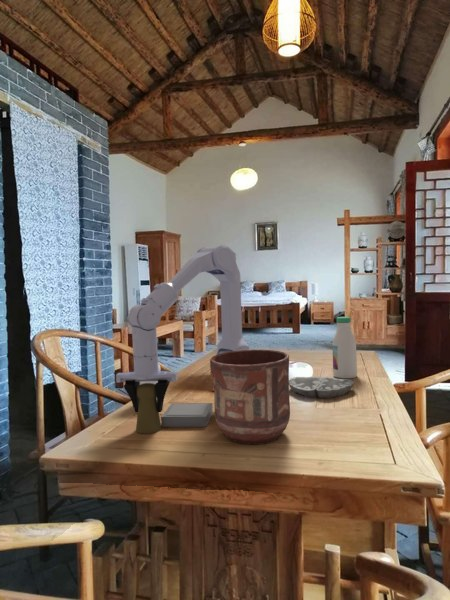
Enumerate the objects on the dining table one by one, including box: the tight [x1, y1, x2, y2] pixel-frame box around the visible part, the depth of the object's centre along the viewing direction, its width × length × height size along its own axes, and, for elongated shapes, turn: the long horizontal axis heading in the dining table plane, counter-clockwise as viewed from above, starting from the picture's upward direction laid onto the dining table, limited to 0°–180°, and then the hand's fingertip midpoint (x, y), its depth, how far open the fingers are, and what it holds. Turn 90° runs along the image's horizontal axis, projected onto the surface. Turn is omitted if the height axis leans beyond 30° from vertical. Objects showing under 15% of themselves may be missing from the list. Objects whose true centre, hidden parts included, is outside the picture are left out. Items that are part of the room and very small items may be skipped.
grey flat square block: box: [160, 402, 214, 428], centre depth 115 cm, size 11×11×3 cm
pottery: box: [209, 349, 291, 445], centre depth 102 cm, size 18×18×18 cm
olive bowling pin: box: [135, 383, 162, 435], centre depth 109 cm, size 6×6×11 cm
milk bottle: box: [332, 316, 358, 380], centre depth 152 cm, size 8×8×20 cm
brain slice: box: [289, 375, 355, 399], centre depth 135 cm, size 20×17×3 cm
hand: (148, 411), depth 109 cm, fingers closed on olive bowling pin, 5 cm apart
